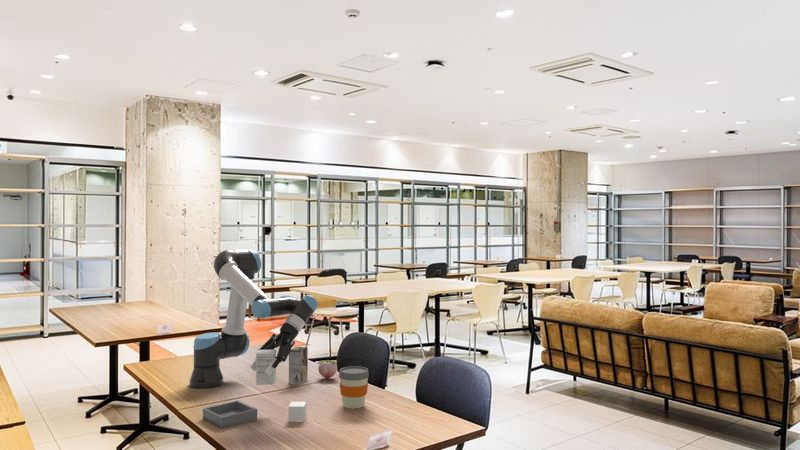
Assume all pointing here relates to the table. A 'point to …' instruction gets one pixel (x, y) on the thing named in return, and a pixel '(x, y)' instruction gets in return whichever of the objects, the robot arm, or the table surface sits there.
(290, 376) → the coffee box
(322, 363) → the decorative fruit
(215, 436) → the table surface
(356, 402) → the reusable coffee cup
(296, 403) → the white cube
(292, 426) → the table surface
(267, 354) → the supplement box
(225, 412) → the tray
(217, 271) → the robot arm
